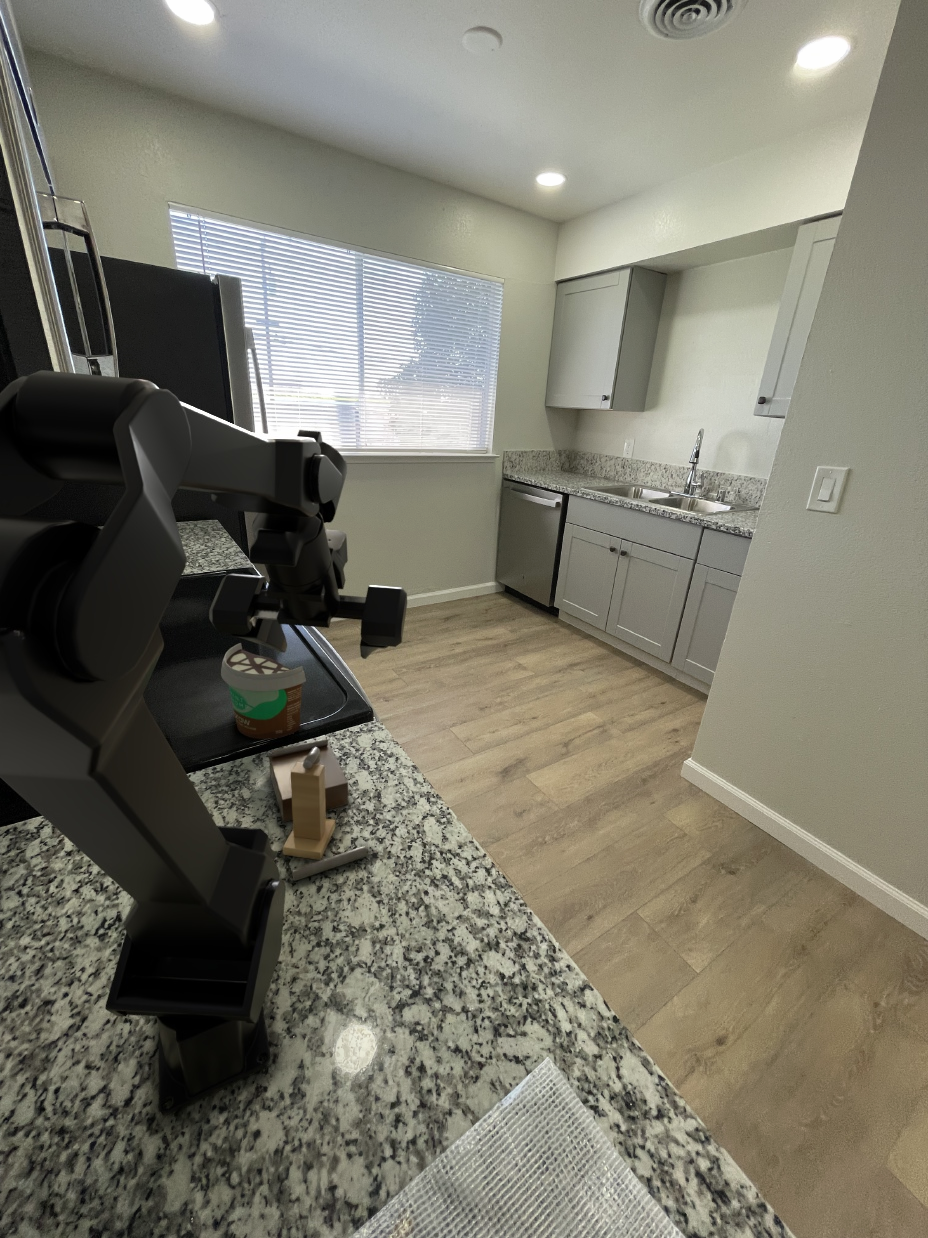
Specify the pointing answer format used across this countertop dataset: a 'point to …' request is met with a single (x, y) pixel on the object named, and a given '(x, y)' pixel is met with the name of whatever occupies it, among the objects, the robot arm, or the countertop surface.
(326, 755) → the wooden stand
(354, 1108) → the countertop surface
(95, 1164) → the countertop surface
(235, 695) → the food container
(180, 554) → the robot arm
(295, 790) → the wooden post stand
